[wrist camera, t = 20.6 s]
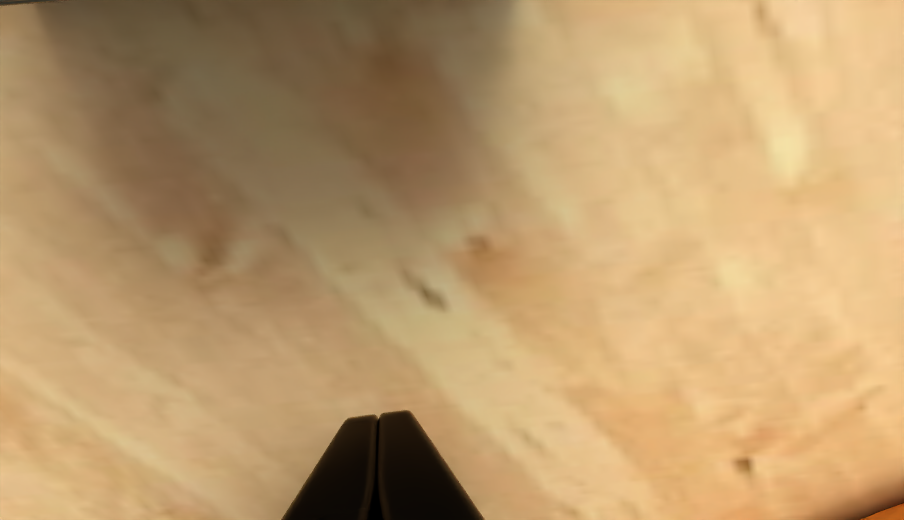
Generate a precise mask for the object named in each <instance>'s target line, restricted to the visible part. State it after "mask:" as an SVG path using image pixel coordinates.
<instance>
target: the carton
mask: <svg viewBox="0 0 904 520" xmlns="http://www.w3.org/2000/svg"><path fill="white" fill-rule="evenodd" d="M54 1H67V0H0V6H4V5H17V4H29V3H42V2H54Z"/></svg>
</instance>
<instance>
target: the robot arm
mask: <svg viewBox="0 0 904 520" xmlns="http://www.w3.org/2000/svg"><path fill="white" fill-rule="evenodd" d="M281 520H485V519H484V518H483V516H482V515H481V513H480V512H479V511H478V509H477V508H476V506H475V505H474V503H473V502H472V500H471V499H470V497H469V496H468V494H467V493H466V491H465V490H464V488H463V487H462V486H461V484H460V483H459V481H458V480H457V478H456V477H455V475H454V474H453V472H452V471H451V469H450V468H449V466H448V465H447V464H446V462H445V461H444V459H443V458H442V456H441V455H440V453H439V452H438V450H437V449H436V447H435V446H434V444H433V443H432V441H431V440H430V439H429V437H428V436H427V434H426V433H425V431H424V430H423V428H422V427H421V425H420V424H419V422H418V421H417V419H416V418H415V417H414V415H413V414H412V413H411V412H410V411H408V410H403V411H395V412H388V413H383V414H381V415H380V417H379V418H378V417H377V416H376V415H365V416H358V417H351V418H348V419H347V420H345V421H344V423H343V424H342V426H341V428H340V429H339V431H338V432H337V434H336V435H335V437H334V438H333V440H332V442H331V443H330V445H329V446H328V448H327V449H326V451H325V452H324V454H323V456H322V457H321V459H320V460H319V462H318V463H317V465H316V466H315V468H314V470H313V471H312V473H311V474H310V476H309V477H308V479H307V480H306V482H305V484H304V485H303V487H302V488H301V490H300V491H299V493H298V494H297V496H296V498H295V499H294V501H293V502H292V504H291V505H290V507H289V508H288V510H287V512H286V513H285V515H284V516H283V518H282V519H281Z"/></svg>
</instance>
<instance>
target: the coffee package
mask: <svg viewBox="0 0 904 520" xmlns="http://www.w3.org/2000/svg"><path fill="white" fill-rule="evenodd" d="M860 520H904V503H903V504H900V505H897V506H894V507H892V508H889V509H886V510H883V511H881V512H878V513H876V514H873V515H871V516H868V517H866V518H863V519H860Z"/></svg>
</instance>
